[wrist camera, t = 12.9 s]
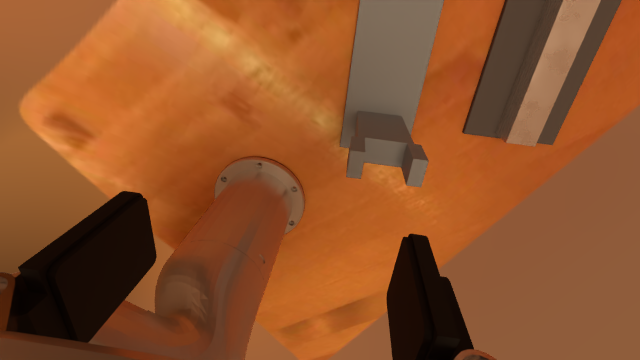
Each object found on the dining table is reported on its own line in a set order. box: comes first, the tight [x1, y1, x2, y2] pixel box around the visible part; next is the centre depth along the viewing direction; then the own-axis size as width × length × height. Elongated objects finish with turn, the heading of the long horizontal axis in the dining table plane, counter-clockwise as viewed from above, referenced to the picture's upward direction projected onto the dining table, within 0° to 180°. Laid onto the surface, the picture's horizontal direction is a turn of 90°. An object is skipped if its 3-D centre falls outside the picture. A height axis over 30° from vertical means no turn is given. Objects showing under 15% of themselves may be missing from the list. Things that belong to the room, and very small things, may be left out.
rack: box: [340, 0, 444, 187], centre depth 27 cm, size 25×8×14 cm, turn 174°
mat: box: [462, 0, 621, 145], centre depth 31 cm, size 25×10×1 cm, turn 174°
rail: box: [495, 0, 601, 146], centre depth 29 cm, size 24×3×3 cm, turn 174°
